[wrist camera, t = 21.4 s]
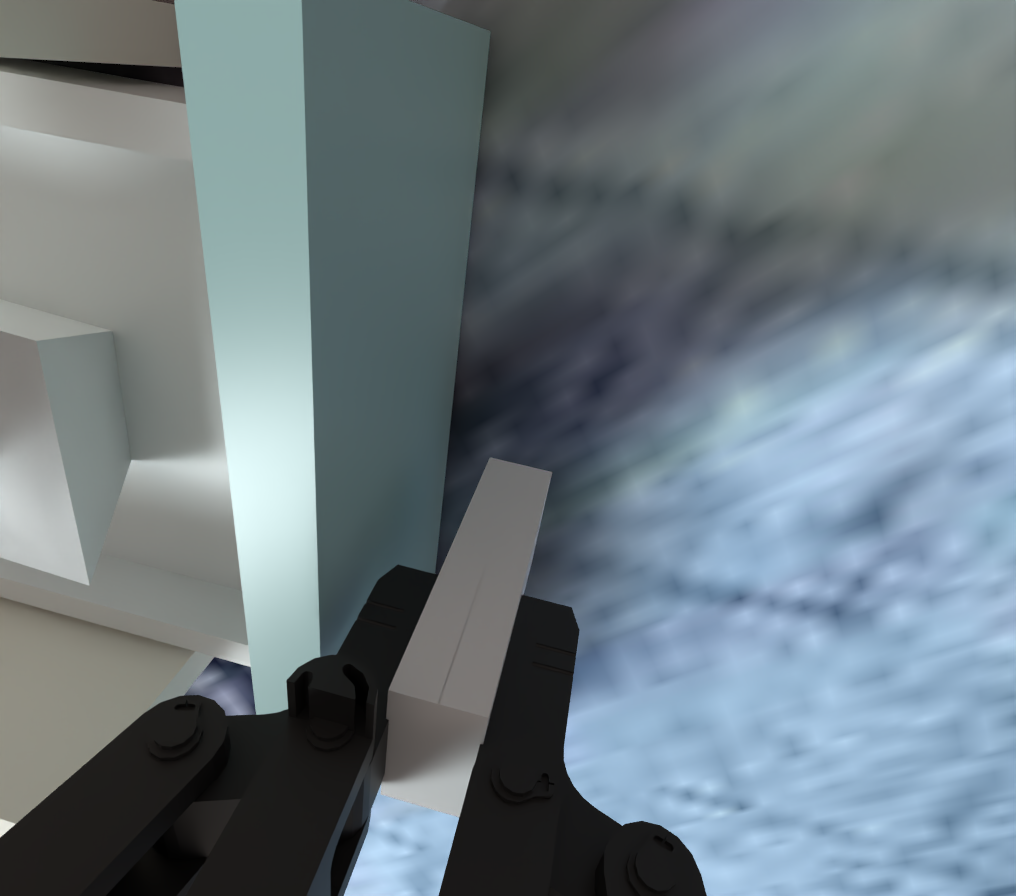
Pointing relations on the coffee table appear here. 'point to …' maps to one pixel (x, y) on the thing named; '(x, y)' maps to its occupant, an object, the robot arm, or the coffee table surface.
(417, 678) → the robot arm
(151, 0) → the cubby
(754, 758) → the coffee table surface
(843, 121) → the coffee table surface
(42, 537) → the figurine
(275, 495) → the tray
